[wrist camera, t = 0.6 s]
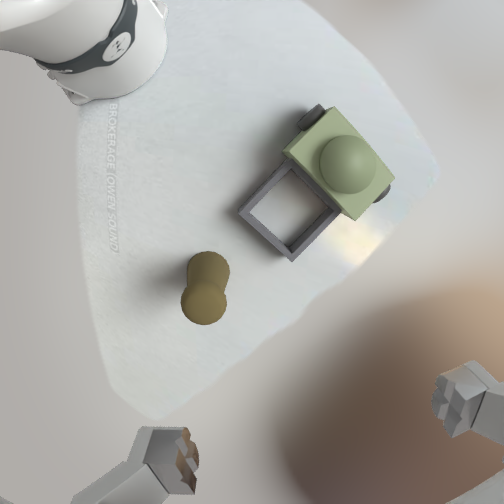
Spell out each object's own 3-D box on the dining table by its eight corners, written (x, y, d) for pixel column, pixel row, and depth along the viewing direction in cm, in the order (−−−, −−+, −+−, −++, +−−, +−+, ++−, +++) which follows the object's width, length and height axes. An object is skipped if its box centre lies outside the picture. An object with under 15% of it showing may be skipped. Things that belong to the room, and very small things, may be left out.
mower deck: (224, 198, 39) (223, 206, 33) (315, 104, 36) (330, 97, 30) (299, 266, 43) (310, 284, 37) (382, 180, 40) (405, 185, 34)
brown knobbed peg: (178, 274, 42) (164, 313, 32) (203, 242, 41) (195, 273, 30) (212, 298, 44) (209, 342, 33) (238, 268, 42) (242, 305, 32)
